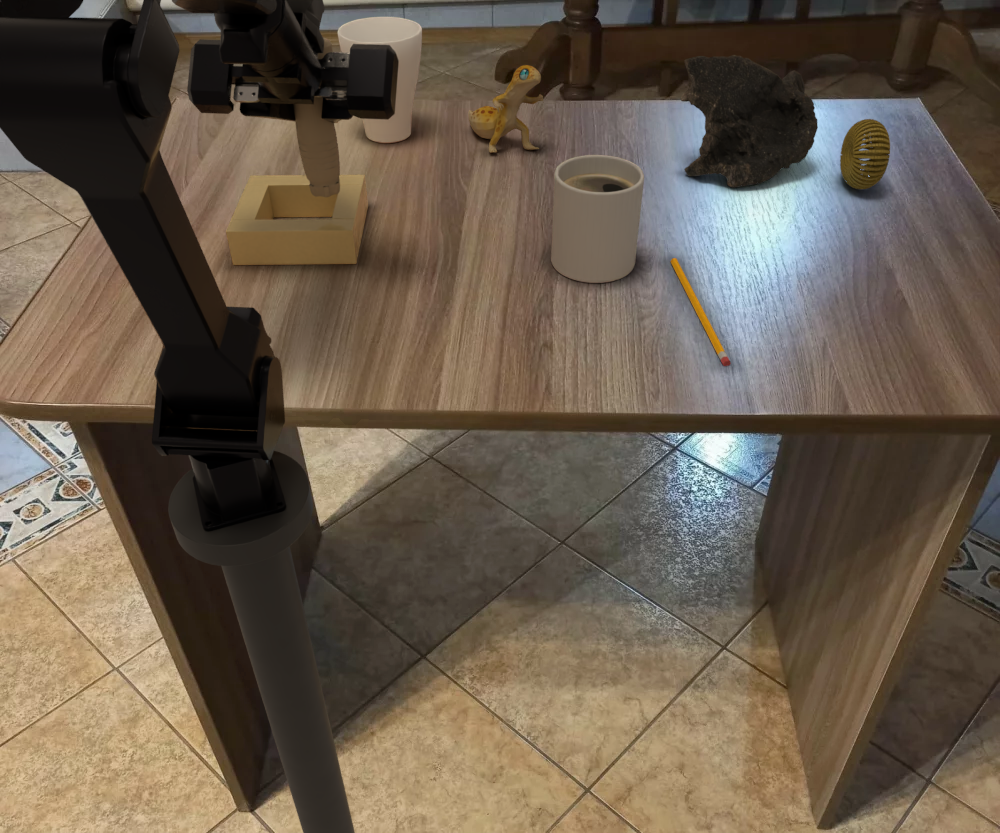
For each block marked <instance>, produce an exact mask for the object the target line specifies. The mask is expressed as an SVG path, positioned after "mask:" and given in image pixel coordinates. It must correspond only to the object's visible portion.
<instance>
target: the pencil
mask: <svg viewBox="0 0 1000 833" xmlns="http://www.w3.org/2000/svg"><path fill="white" fill-rule="evenodd" d="M670 264H671V265H672V268H673V270H674V272H675V273H676V275H677V277H678V280H679V282H680V283H681V285H682V288H683V290H684V291H685V293H686V295H687V297H688V300H689V301H690V303H691V305H692V307H693V309H694V311H695V313H696V315H697V317H698V319H699V320H700V323H701V325H702V327H703V328H704V331H705V332H706V334H707V336H708V338H709V341H710V342H711V345H712V347H713V348H714V351H715V352H716V354H717V357H718V358H719V360H720V362H721V364H722V366H723V367H729V366H730V365H731V364H732V363H731V361H730V359H729V357H728V355H727V353H726V351H725V349H724V347H723V345H722V342H721V341H720V339H719V337H718V336H717V333H716V332H715V330H714V328H713V326H712V324H711V322H710V320H709V318H708V316H707V314H706V312H705V311H704V309H703V306H702V304H701V303H700V301H699V299H698V297H697V295H696V293H695V292H694V290H693V288H692V285H691V283H690V282H689V279H688V278H687V276H686V274H685V272H684V270H683V268H682V266H681V264H680V262H679V261H678V259H677V257H674V258H673V257H672V258H671V259H670Z"/></svg>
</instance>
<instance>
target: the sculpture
mask: <svg viewBox="0 0 1000 833" xmlns="http://www.w3.org/2000/svg"><path fill="white" fill-rule="evenodd" d="M890 154H891V139H890V135H889V132H888V130H887V127H885V125H884V124H883V123H881V122H880V121H879V120H876V119H874V118H873V119H872V118H865V119H861V120H859V121H857V122H855V123H854V124H853V125H852V126H850V128H849V129H848V131H846V134H845V136H844V139H843V141H842V144H841V149H840V156H839V158H840V159H839V165H840V173H841V177H842V178H843V180H844V182H845V183H846V184H847V185H848V186H849V187H851V188H852V189H854V190H855V189H856V190H866V189H870V188H872V186H873V187H875V186H876V185H877V184H878V183H879V182H880V181H881V179H882V178H883V177H884V175H885V173H886V171H887V168H888V165H889V161H890V156H891V155H890ZM860 169H861V170H860ZM868 175H869V176H870V177H868ZM845 180H846V181H847V182H846V181H845Z"/></svg>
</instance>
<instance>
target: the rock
mask: <svg viewBox="0 0 1000 833" xmlns="http://www.w3.org/2000/svg"><path fill="white" fill-rule="evenodd" d="M683 61H684V66H685V69H686V71H687V76H688V80H687V83H688V84H687V86H688V89H686V90H685V91H684V92H683V94H682V95H681V97H680V102H683V103H684V102H685V103H686V102H689V104H690V105H691V106H694V107H695V108H696V109H698V110H699V111H701V113H702V114H703V116H704V119H705V120H704V130H705V134H704V135H703V136H702V138H701V139H702V140H701V141H702V142H701V145H700V147H699V150H698V151H699V156H698V157H697V158H696V159H694V160H692V161H691V163H690V164H688V165H687V166H686V167H685V168H684V173H685V174H686V175H687V176H688V177H700V176H704V175H713V174H716V175H722V177H724V178H726V185H727V187H729V188H739V187H747V186H754V185H759V184H763V183H764V182H767V181H769V180H770V179H772V178H773V177H775V176H776V175H777V174H778V173H779V172H780V171H781V170H782V169H790V167H791V165H793V164H800V162H802V161H803V160H804V159H805V158H806V157H807V155H808V154H809V151H810V150H811V149H812V148H813V145H814V143H815V137H816V134H817V132H818V127H819V126H818V118H817V117H816V112H815V109H816V107H815V103H814V101H813V99H812V98H811V97H810V96H809V95H808V93H805V90H806V87H805V82H804V79H803V76H802V74H801V73H800V72H798V71H797V70H791V71H789V72H788V73H787V74H786V75H785V76H784V77H783V78H781V77H780V76H779V74H777V73H775V72H773V71H772V70H770V69H769V68H767V67H765V66H763V65H761V64H759V63H757V62H755V61H753V60H751V59H750V58H749V57H743V56H741V55H736V54H732V55H730V56H724V55H723V56H710V57H709V56H705V55H698V56H693V57H689V58H686V59H685V60H683Z"/></svg>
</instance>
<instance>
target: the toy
mask: <svg viewBox="0 0 1000 833" xmlns="http://www.w3.org/2000/svg"><path fill="white" fill-rule="evenodd" d="M541 81H542V75H541V73H540V72H539V70H538V69H537V68H536V67H534V66H532V65H529V64H523V65H520V66H519V67H518V68H517V69H516V70H515V71H514V72H513V75H512V78H511V80H510V82H509V84H508V85H507V87H506V89H505V91H504V93H501V94H499V95H497V96H495V97H493V99H492V104H493V106H491V105H484V106H481V107H479V108H477V109H475V110H474V111H473V110H472V109H469V110H468V112H467V113H468V114H467V117H468V118H467V119H468V123H469V125H470V127H471V129H472V131H473V132H474V133H475V134H476V135H477V136H479V137H480V138H483V139H487V140H490V141H489V143H488V148H487V149H488V152H489V153H490V154H494V153H497V152H498V150H497V147H496V146H497V144H498V142H499V140H500V139H501V138H502V137H505V136H506V135H507V134H508V133H510V132H511V131H513V130H518V131H520V135H521V136H520V138H521V144H522V147H523V149H525V150H527V151H533V150H540V148H539V147H538V146H534V145H533V144H532V143H531V141H530V129H529V127H528V126H527V125H526V124H525V123H524V122H523V121H522V120H520V119H519V118H518V116H517V114H518V112H519V109H520V107H521V105H522V104H528V105H534V104H537V103H538V102H543V101H544V96H543V95H542V94H541V93H540V94H538V96H534V97H532V96H528V95H527V94H528V92H529V91H531V90H532V89H533V88H534V87H536V86H537V85H539V84H540V83H541Z"/></svg>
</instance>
